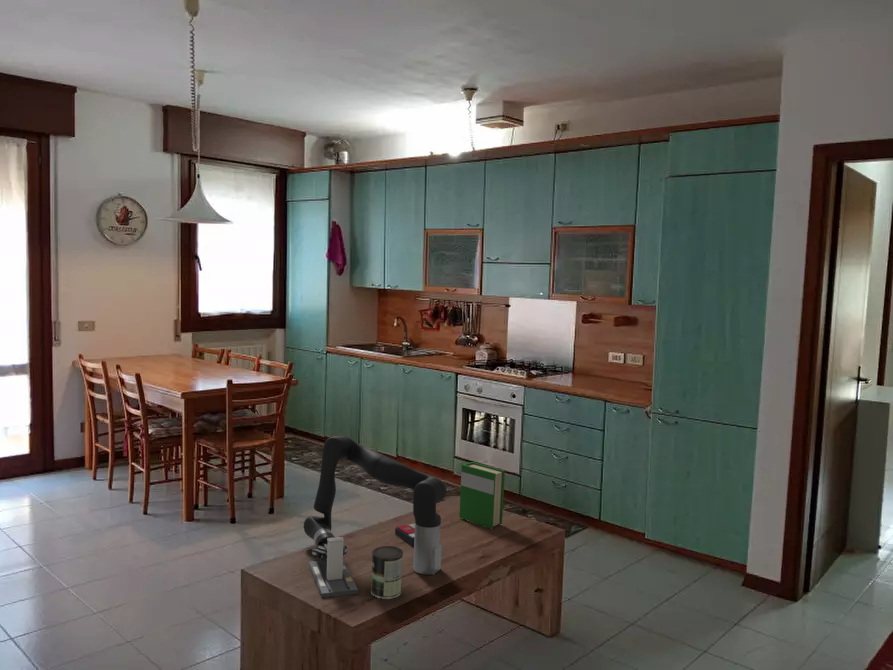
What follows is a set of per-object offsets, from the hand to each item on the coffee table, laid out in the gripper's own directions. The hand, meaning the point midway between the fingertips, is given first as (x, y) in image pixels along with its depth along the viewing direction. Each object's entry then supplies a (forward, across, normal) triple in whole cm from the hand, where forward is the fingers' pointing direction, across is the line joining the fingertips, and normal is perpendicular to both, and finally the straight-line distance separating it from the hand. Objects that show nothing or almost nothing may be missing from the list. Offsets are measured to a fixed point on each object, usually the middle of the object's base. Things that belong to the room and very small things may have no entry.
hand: (334, 560), depth 249 cm
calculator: (-32, +39, +8) cm, 51 cm away
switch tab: (+1, 0, +6) cm, 6 cm away
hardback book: (-43, +72, +8) cm, 84 cm away
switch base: (-2, 0, +8) cm, 8 cm away
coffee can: (+12, +15, +8) cm, 21 cm away
